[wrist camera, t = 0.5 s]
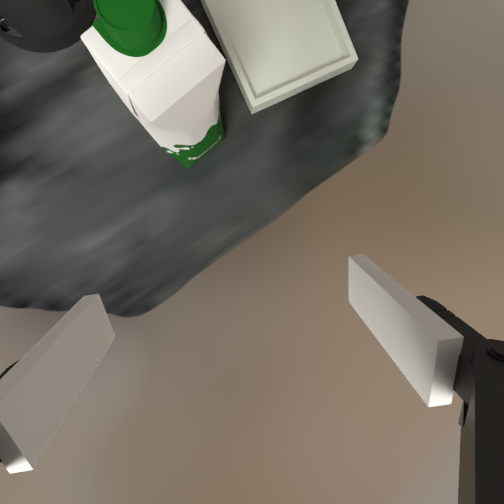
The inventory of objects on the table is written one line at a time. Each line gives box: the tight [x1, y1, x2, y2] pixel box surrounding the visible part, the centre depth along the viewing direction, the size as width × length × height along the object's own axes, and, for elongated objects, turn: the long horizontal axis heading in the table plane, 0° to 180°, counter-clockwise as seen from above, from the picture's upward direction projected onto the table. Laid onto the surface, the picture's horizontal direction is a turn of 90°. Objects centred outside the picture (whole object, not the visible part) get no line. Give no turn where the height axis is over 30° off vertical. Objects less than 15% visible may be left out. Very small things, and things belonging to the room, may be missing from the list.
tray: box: [200, 0, 358, 114], centre depth 37 cm, size 20×16×2 cm
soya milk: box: [81, 0, 226, 169], centre depth 28 cm, size 9×9×20 cm
